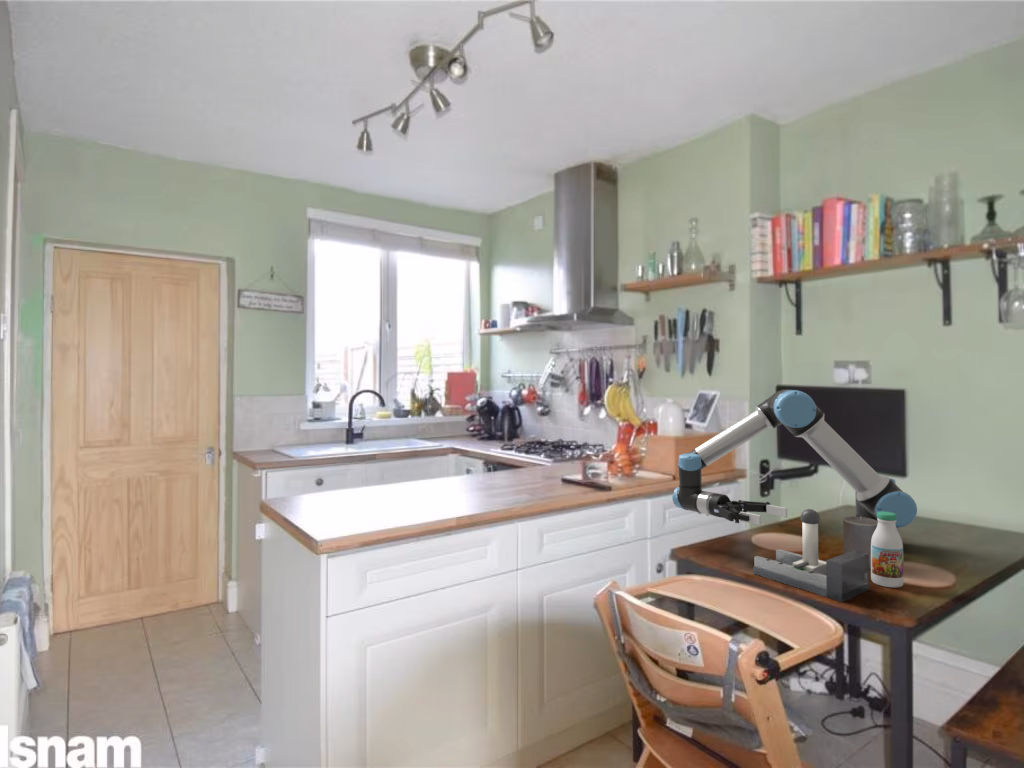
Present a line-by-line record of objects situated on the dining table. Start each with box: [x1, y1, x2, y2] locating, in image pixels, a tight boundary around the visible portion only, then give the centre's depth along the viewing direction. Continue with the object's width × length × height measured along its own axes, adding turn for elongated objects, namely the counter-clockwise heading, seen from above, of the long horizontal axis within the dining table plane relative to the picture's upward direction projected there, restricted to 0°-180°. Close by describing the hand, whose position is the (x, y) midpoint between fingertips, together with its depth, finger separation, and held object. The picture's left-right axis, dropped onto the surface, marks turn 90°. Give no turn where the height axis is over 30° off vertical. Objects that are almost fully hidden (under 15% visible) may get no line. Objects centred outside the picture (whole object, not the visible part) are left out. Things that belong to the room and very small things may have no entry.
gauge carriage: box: [792, 508, 826, 575], centre depth 164 cm, size 6×11×19 cm, turn 123°
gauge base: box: [752, 548, 870, 603], centre depth 166 cm, size 26×14×10 cm, turn 33°
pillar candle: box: [842, 516, 878, 570], centre depth 179 cm, size 10×10×15 cm
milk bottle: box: [870, 511, 904, 589], centre depth 163 cm, size 8×8×20 cm
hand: (773, 516), depth 175 cm, fingers open, 13 cm apart
